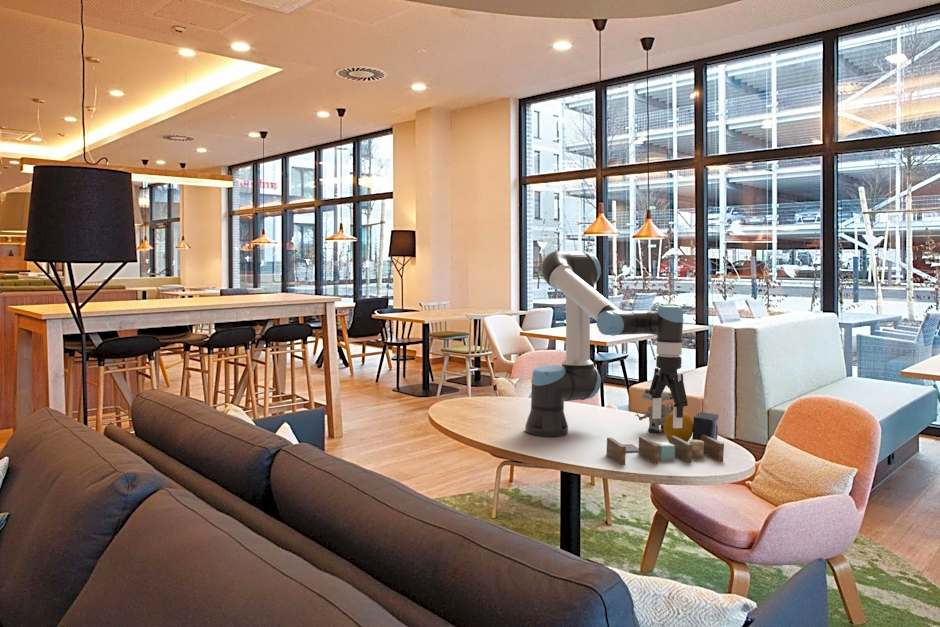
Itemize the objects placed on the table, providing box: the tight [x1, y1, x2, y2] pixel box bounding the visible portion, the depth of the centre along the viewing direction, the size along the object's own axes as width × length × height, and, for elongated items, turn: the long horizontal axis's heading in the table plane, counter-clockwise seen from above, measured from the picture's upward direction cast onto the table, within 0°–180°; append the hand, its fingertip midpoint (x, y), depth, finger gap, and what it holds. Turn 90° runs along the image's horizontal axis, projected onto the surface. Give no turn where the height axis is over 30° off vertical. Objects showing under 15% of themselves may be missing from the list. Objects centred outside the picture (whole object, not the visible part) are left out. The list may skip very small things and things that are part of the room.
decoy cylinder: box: [688, 439, 704, 460], centre depth 217 cm, size 4×4×5 cm
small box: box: [691, 411, 719, 441], centre depth 231 cm, size 11×6×10 cm, turn 149°
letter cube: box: [654, 441, 676, 461], centre depth 215 cm, size 4×4×5 cm
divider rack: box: [606, 435, 725, 466], centre depth 215 cm, size 34×11×6 cm, turn 102°
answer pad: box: [621, 443, 639, 454], centre depth 225 cm, size 8×8×1 cm
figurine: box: [635, 388, 674, 435], centre depth 251 cm, size 9×12×15 cm
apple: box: [662, 411, 693, 443], centre depth 231 cm, size 10×10×12 cm
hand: (666, 423), depth 214 cm, fingers open, 13 cm apart
